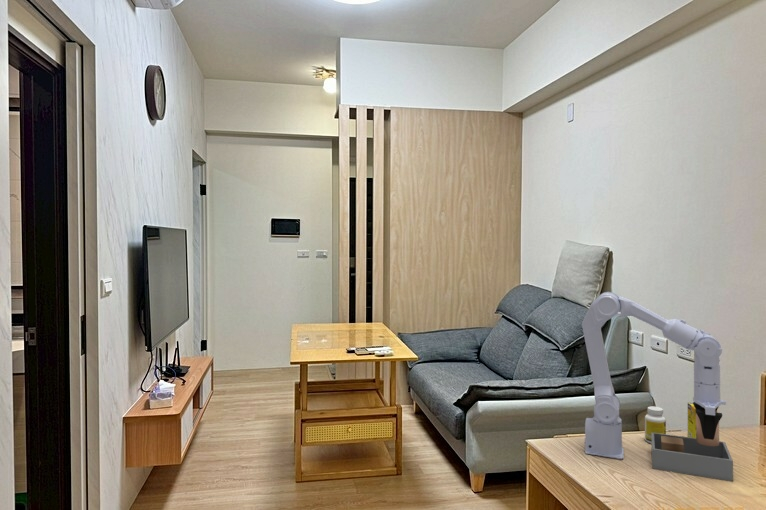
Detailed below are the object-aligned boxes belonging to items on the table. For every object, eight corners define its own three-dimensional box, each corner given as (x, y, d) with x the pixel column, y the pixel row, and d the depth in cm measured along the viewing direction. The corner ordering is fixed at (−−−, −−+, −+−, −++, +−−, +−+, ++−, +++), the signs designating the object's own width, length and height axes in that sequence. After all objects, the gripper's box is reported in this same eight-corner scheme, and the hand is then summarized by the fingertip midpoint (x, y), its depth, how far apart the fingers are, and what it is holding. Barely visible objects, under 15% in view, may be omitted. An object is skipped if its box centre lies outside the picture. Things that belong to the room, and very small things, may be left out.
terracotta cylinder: (697, 444, 131) (696, 417, 131) (695, 437, 135) (695, 411, 135) (720, 447, 128) (720, 419, 128) (717, 440, 133) (717, 413, 133)
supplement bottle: (668, 446, 146) (668, 411, 146) (648, 444, 147) (647, 410, 147) (662, 439, 152) (662, 405, 152) (642, 437, 153) (642, 405, 153)
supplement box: (694, 446, 146) (694, 408, 145) (687, 439, 151) (686, 402, 151) (718, 448, 144) (717, 409, 144) (709, 440, 150) (709, 403, 150)
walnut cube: (661, 461, 134) (661, 442, 134) (661, 454, 139) (661, 435, 139) (683, 464, 132) (683, 445, 132) (682, 457, 136) (682, 438, 136)
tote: (652, 468, 132) (652, 449, 132) (651, 450, 143) (651, 432, 143) (733, 481, 124) (732, 460, 124) (725, 460, 136) (724, 441, 136)
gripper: (729, 391, 123) (730, 447, 123) (721, 377, 136) (721, 428, 136) (695, 387, 126) (696, 442, 127) (690, 374, 139) (691, 424, 140)
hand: (707, 435), depth 132 cm, fingers closed on terracotta cylinder, 5 cm apart
